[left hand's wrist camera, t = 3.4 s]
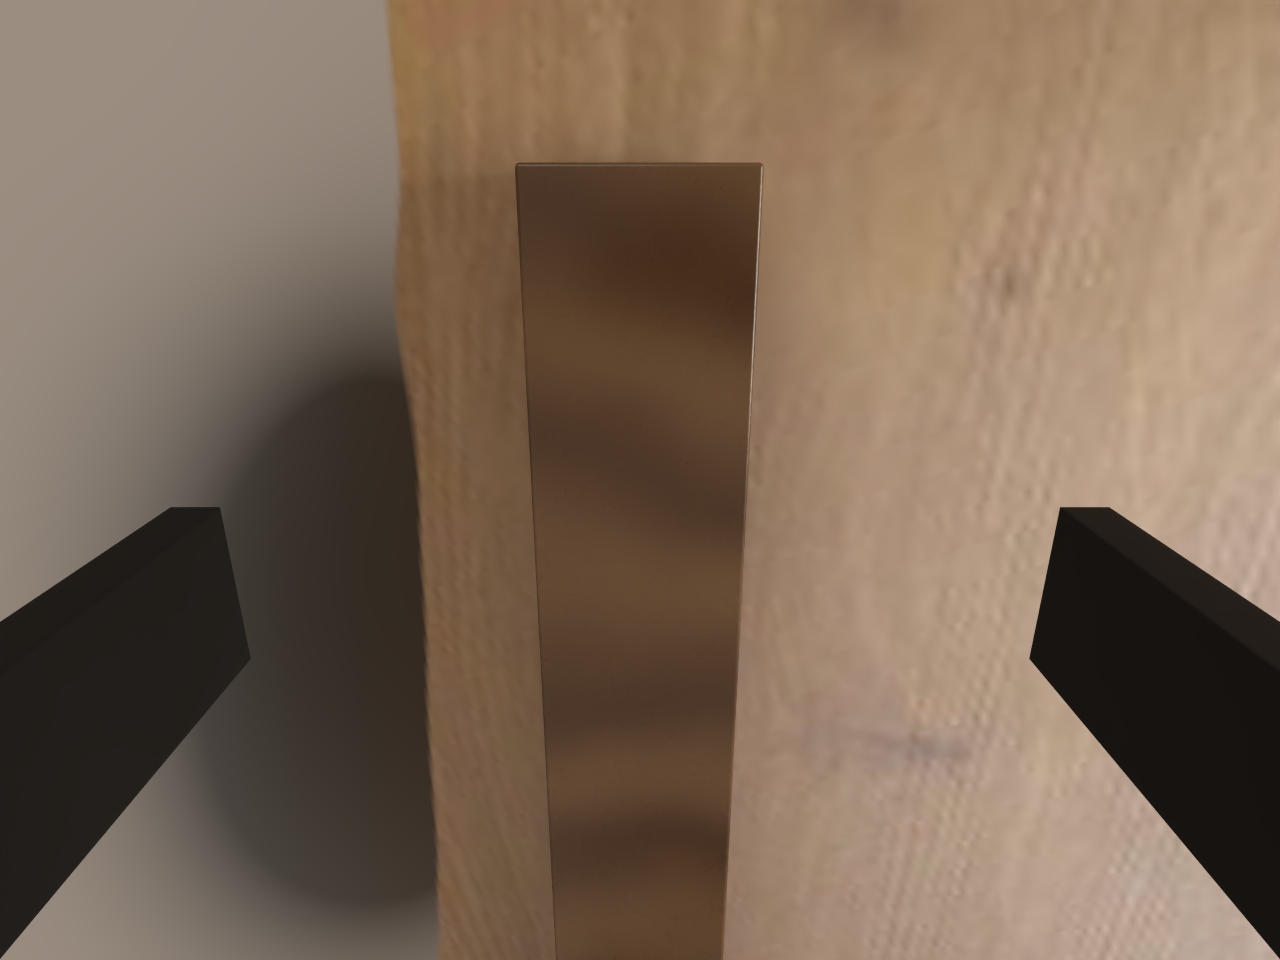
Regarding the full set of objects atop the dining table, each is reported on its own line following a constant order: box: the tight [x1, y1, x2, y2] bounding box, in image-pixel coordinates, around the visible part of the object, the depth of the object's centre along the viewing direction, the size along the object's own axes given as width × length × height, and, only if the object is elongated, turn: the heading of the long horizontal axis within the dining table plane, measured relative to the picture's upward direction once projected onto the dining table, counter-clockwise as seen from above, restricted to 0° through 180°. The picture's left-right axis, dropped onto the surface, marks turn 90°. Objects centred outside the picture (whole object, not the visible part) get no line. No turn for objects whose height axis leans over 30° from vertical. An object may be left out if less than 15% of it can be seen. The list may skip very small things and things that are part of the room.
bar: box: [515, 163, 764, 960], centre depth 31 cm, size 54×6×7 cm, turn 0°
